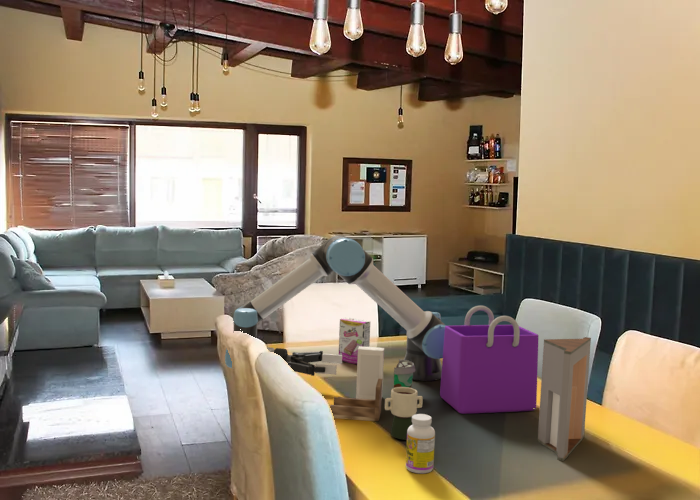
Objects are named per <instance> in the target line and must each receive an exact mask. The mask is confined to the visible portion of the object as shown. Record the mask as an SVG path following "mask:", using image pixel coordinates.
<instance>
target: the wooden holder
mask: <svg viewBox="0 0 700 500" xmlns="http://www.w3.org/2000/svg"><path fill="white" fill-rule="evenodd" d="M381 399H383V390H382V379H378V381H377V385H376V395H375V400H372V399H358V398H356V397H355V398H354V397H341V396H334V397H333V404H330V405H329V409H330V408H331V410H332V413H333V416H334V418H333V419H342V420H355V421H357V420H358V421H369V422H379V421H380V417H381V413H382V400H381Z"/></svg>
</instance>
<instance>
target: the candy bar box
mask: <svg viewBox="0 0 700 500" xmlns="http://www.w3.org/2000/svg"><path fill="white" fill-rule="evenodd" d="M338 332H339V337H338V355H342V363H348V364H353V365H357V360H358V348H359V346H361V347H370V343H371V342H370V341H371V340H370V338H371V321H370V320H364V319H357V318H351V317H343V318H340V319H339V331H338Z"/></svg>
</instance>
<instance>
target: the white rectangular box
mask: <svg viewBox="0 0 700 500" xmlns="http://www.w3.org/2000/svg"><path fill="white" fill-rule="evenodd" d="M384 360H385V347H373V346H369V347H361V346H359V348H358V360H357V364H356V365H357V366H356V389H355V390H356V392H355V398H358V399H372V400H375V395H376V385H377V381H378V379H382V391H383V388H384V387H383V386H384V384H383V383H384ZM382 399H383V398H382ZM382 399H381V401H382Z"/></svg>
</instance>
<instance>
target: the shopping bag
mask: <svg viewBox="0 0 700 500" xmlns="http://www.w3.org/2000/svg"><path fill="white" fill-rule="evenodd" d="M479 311H480V312H481V311H482V312H484V313H486V314H487V316H488V324H475V325H474V324H471V318H472V316H473V314H475V313H476V312H479ZM501 322H508V323H509V324H499V323H501ZM538 360H539V334H537V333H535V332H533V331H531V330H529V329H528V328H527V329H526V328H524V327H523V326H519V323H518V322H517V320H516V319H515V318H513V317H511V316H509V315H500V316H497V317H496V318H495V316H494V313H493V311H492V310H491V308H489V307H488V306H485V305H475V306H473V307H471V308H470V309H469V310H468V311H467V313H466V315H465V318H464V324H463V325H462V324H461V325H455V324H454V325H446V326H445V334H444V347H443V358H442V362H441V365H442V374H441V379H440V388H439V389H440V390H439V395H440V398H441V399H442V400H444V402H446V403H447V404H448V405H450V406H451V407H452V408H453V409H454V410H455V411H456V412H458V413H459V414H460V415H461V414H462V415H463V414H464V415H467V414H489V413H490V414H493V413H514V412H532V411H536V409H537V397H538V396H537V395H538V394H537V393H538V389H537V388H538V364H539V361H538ZM533 408H535V409H533Z"/></svg>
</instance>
